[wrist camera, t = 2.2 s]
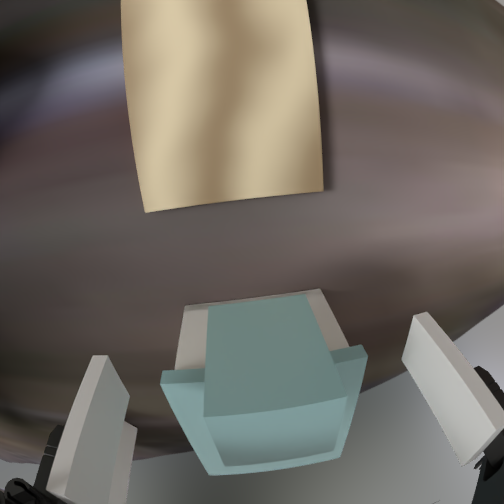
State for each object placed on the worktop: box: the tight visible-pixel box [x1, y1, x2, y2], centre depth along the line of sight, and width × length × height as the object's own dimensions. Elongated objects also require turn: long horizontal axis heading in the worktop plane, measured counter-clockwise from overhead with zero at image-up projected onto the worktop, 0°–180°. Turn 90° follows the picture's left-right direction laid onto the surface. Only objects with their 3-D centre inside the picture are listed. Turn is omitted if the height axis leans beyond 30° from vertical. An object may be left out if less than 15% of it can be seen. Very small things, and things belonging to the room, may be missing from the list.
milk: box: [108, 421, 137, 504], centre depth 18 cm, size 6×6×22 cm
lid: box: [160, 294, 368, 475], centre depth 14 cm, size 11×17×6 cm, turn 5°
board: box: [121, 0, 323, 213], centre depth 15 cm, size 11×15×1 cm
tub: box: [175, 289, 349, 370], centre depth 21 cm, size 10×12×7 cm
